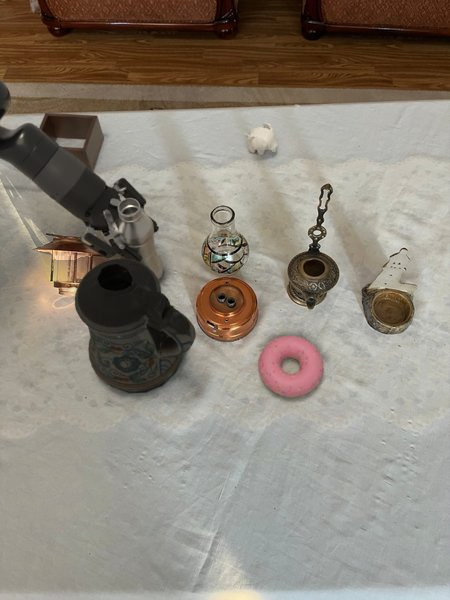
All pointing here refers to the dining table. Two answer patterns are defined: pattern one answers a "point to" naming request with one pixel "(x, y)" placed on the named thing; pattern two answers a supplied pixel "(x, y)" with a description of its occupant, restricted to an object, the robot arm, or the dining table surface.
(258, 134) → the elephant figurine
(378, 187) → the dining table surface
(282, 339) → the doughnut
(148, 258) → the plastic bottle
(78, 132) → the crate
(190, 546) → the dining table surface
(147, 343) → the dark ceramic jug
